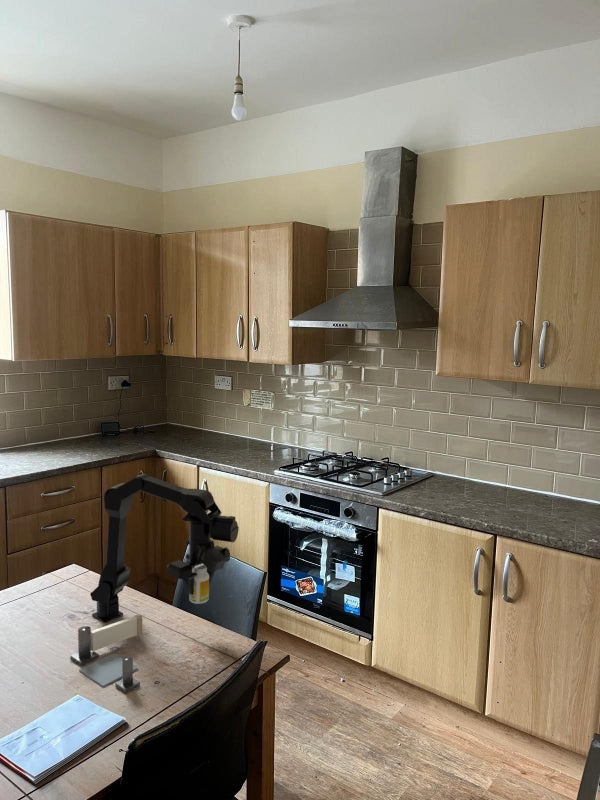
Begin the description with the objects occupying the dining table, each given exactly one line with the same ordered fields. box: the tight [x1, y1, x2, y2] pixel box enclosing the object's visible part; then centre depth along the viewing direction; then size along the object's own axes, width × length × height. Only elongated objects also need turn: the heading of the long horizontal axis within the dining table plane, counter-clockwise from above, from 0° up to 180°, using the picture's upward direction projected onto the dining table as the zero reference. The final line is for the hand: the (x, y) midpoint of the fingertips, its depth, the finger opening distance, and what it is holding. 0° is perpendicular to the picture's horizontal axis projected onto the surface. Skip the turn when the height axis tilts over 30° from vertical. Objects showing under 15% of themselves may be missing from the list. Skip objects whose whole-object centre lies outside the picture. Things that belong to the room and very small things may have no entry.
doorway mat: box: [79, 653, 139, 688], centre depth 149 cm, size 10×10×1 cm
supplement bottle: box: [188, 564, 210, 605], centre depth 167 cm, size 5×5×10 cm
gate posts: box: [69, 625, 141, 694], centre depth 148 cm, size 22×5×8 cm, turn 52°
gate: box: [91, 613, 143, 652], centre depth 160 cm, size 14×2×5 cm, turn 134°
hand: (199, 591), depth 167 cm, fingers closed on supplement bottle, 5 cm apart
